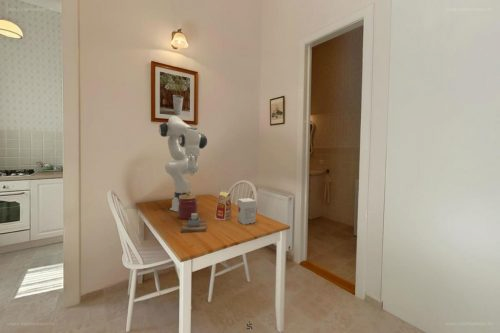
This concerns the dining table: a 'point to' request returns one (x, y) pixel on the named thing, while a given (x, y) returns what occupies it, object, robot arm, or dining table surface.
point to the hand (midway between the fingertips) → (192, 174)
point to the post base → (194, 229)
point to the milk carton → (223, 206)
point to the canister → (187, 206)
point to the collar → (194, 222)
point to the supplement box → (246, 210)
